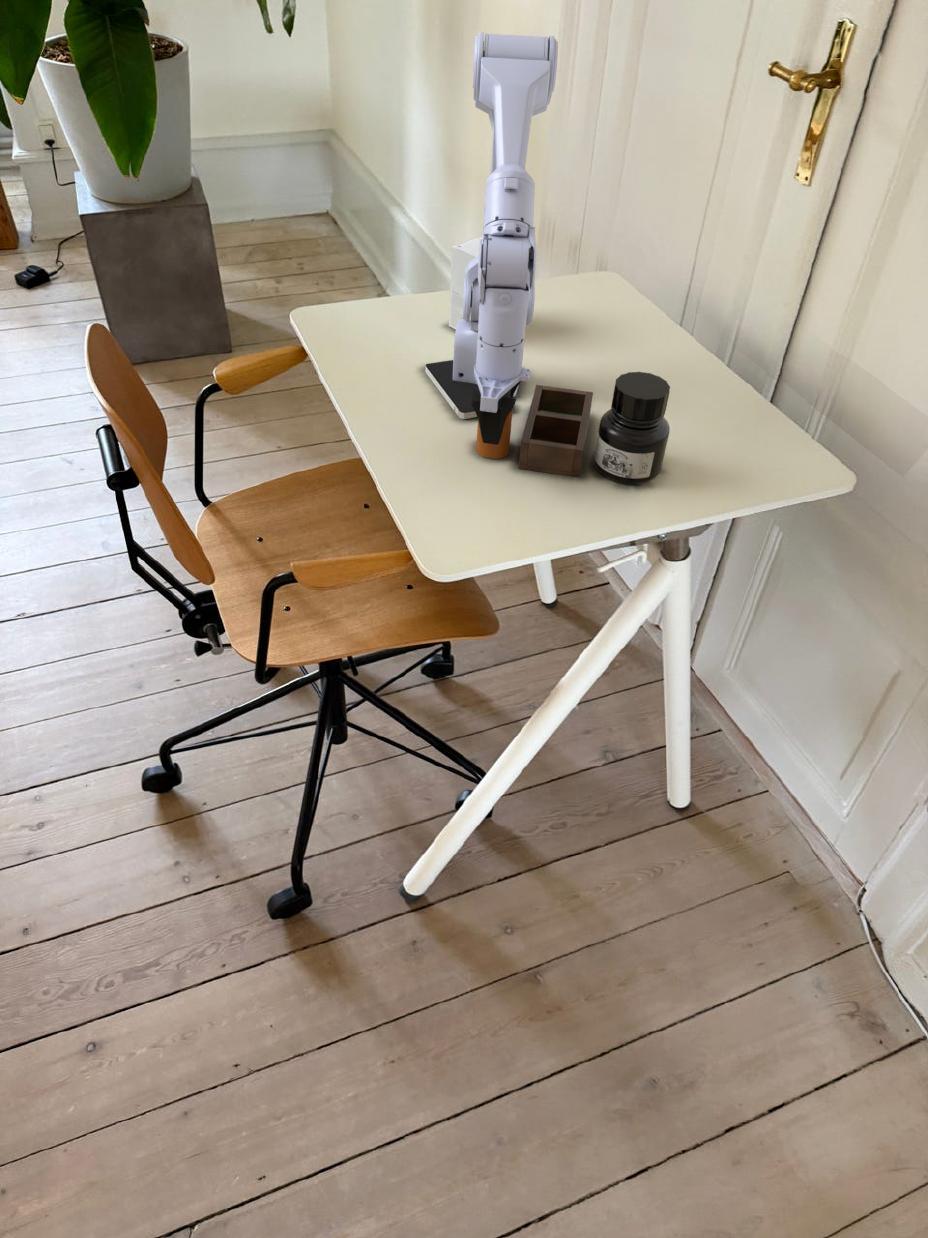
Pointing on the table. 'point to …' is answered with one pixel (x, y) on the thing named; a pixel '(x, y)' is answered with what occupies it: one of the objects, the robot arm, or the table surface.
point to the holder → (556, 431)
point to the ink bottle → (634, 429)
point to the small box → (460, 277)
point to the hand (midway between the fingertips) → (493, 432)
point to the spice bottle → (504, 443)
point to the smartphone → (452, 388)
